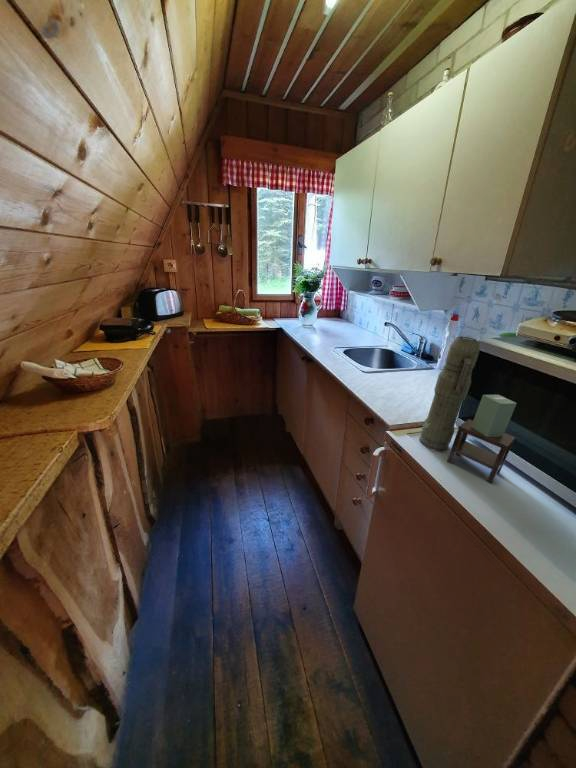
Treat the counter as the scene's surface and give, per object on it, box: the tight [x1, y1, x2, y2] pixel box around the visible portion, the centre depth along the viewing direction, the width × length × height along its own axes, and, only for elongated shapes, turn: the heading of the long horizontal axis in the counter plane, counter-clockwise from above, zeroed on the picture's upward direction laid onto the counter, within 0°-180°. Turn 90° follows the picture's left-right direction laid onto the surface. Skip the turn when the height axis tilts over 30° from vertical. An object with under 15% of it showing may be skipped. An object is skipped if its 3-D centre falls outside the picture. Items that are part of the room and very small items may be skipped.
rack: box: [446, 418, 516, 484], centre depth 87 cm, size 12×8×12 cm, turn 42°
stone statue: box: [419, 336, 480, 452], centre depth 93 cm, size 9×12×35 cm
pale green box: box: [471, 394, 517, 437], centre depth 83 cm, size 6×6×10 cm
